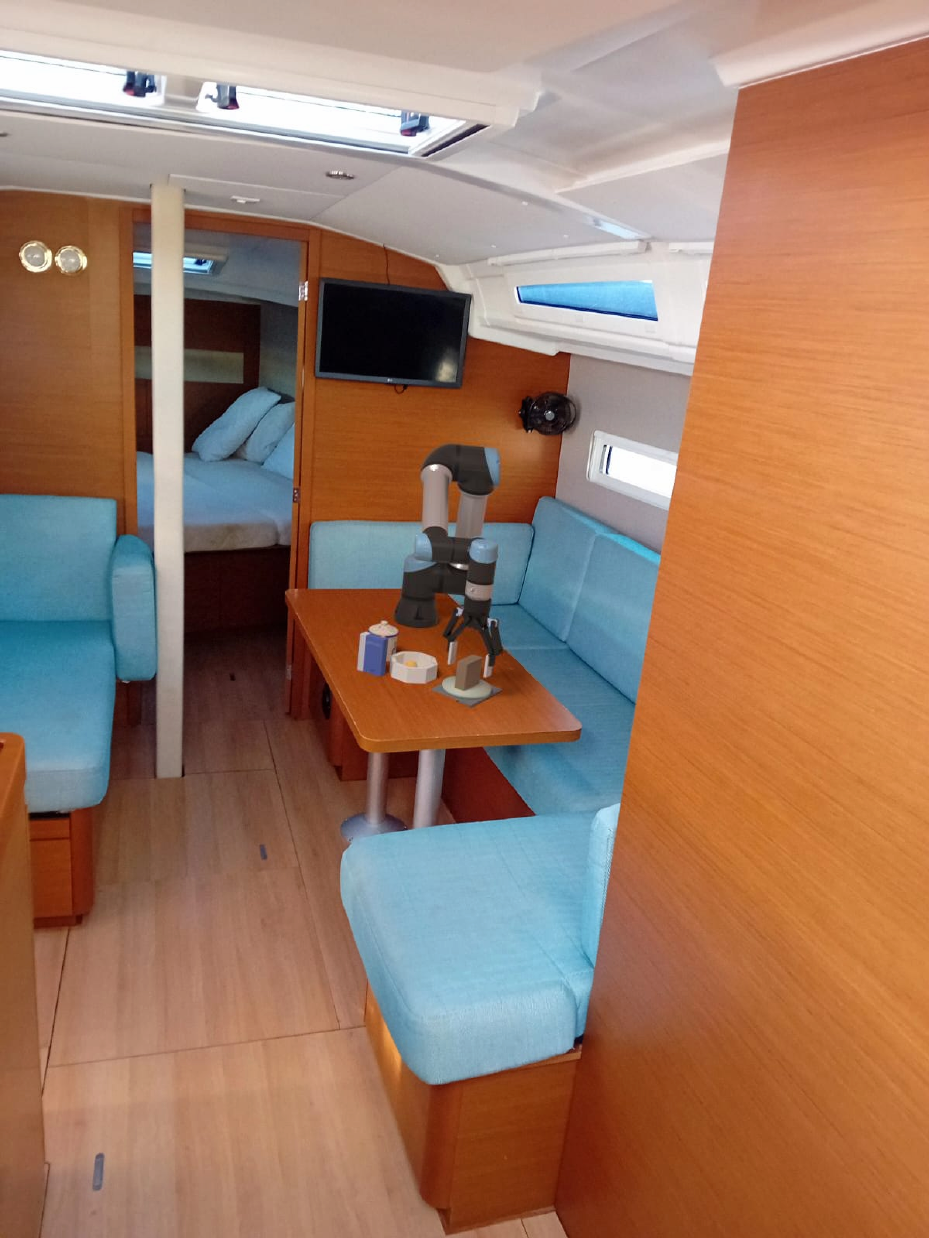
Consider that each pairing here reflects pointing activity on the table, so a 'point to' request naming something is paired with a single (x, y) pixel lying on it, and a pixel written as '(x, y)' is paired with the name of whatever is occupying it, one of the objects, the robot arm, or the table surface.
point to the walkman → (372, 653)
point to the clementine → (411, 664)
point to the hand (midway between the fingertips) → (469, 669)
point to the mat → (465, 701)
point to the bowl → (413, 674)
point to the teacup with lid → (389, 633)
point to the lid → (467, 680)
